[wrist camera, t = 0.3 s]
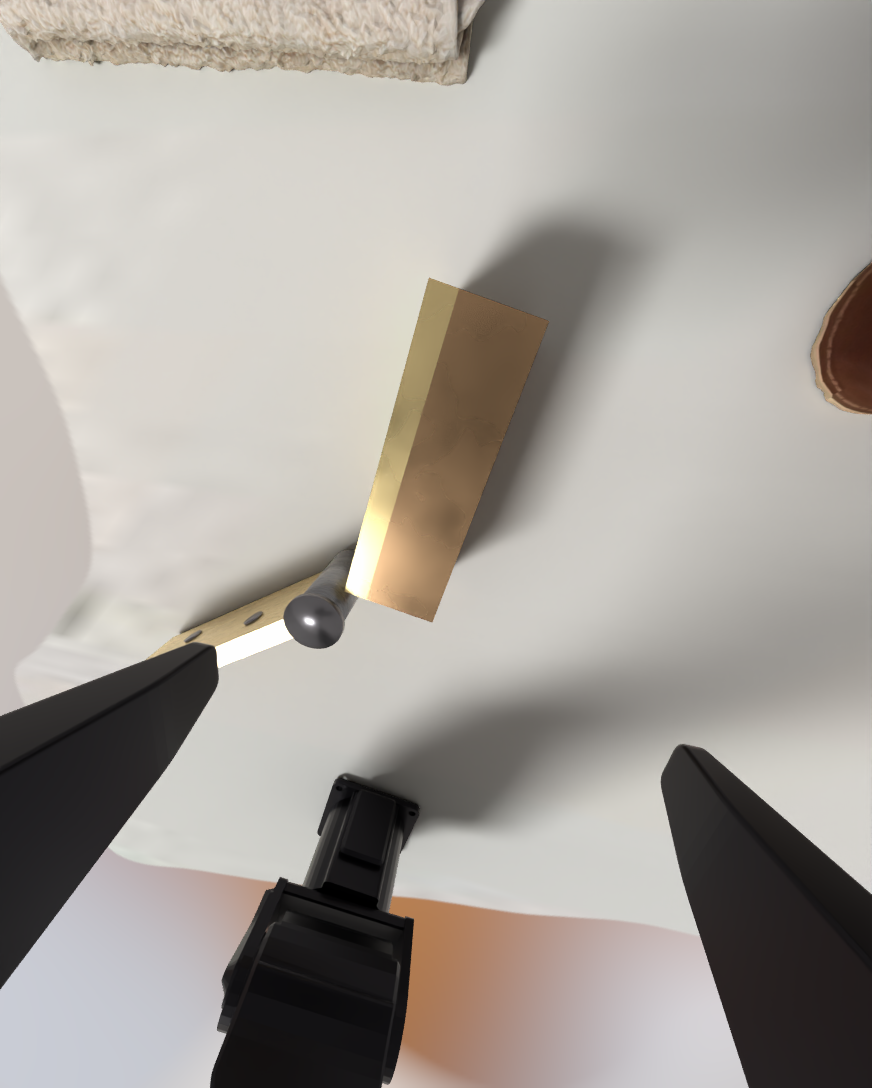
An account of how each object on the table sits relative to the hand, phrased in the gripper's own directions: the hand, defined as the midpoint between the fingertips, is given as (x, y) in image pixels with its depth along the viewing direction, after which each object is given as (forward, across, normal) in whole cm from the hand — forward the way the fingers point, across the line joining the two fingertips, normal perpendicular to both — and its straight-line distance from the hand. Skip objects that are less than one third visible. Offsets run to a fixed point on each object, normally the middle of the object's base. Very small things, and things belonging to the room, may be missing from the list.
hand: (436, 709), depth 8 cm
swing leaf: (+14, +11, +8) cm, 19 cm away
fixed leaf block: (+14, +2, -3) cm, 14 cm away
